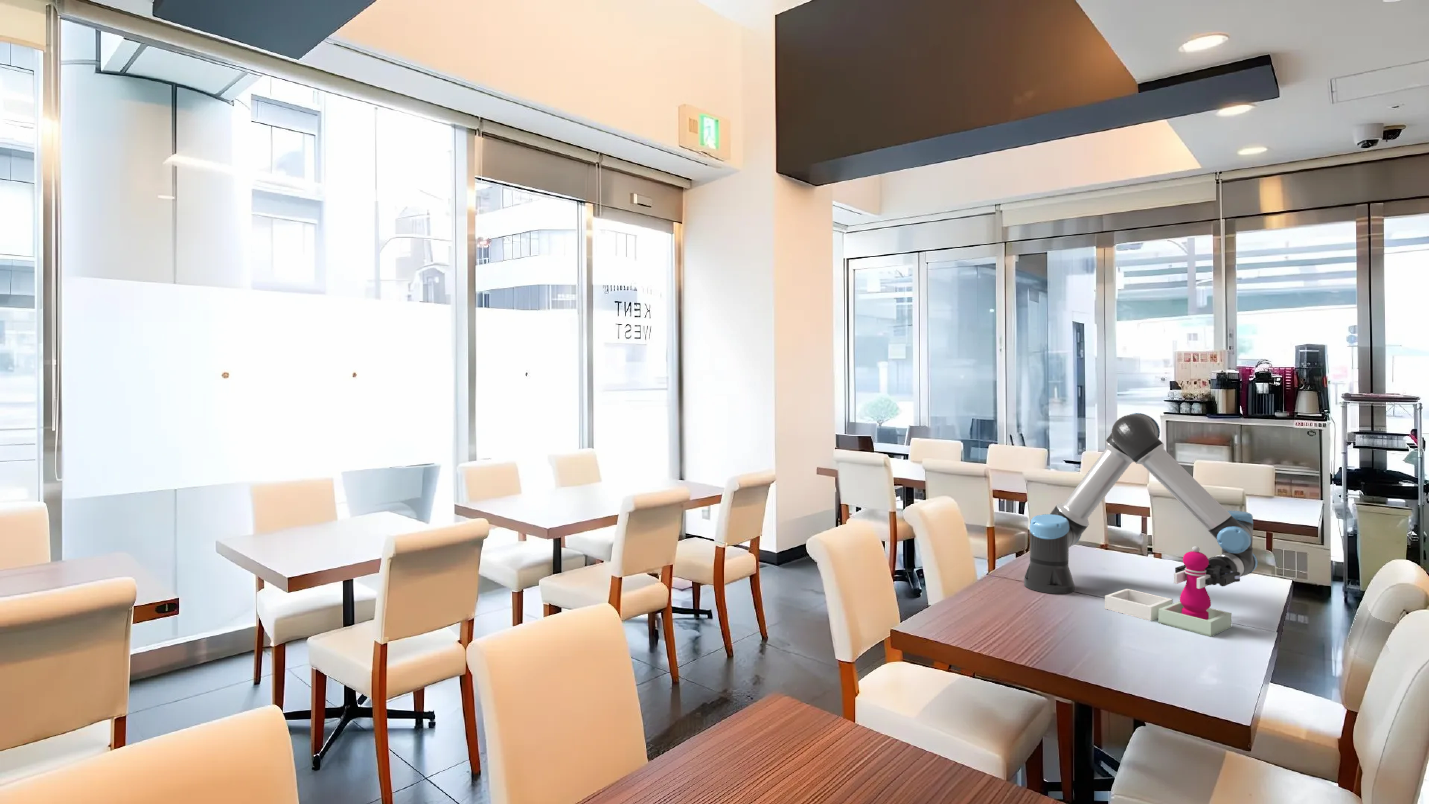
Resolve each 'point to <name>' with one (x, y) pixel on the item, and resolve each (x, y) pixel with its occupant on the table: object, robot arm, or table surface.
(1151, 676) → the table surface
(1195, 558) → the pepper mill
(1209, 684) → the table surface
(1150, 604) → the bin
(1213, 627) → the tray
